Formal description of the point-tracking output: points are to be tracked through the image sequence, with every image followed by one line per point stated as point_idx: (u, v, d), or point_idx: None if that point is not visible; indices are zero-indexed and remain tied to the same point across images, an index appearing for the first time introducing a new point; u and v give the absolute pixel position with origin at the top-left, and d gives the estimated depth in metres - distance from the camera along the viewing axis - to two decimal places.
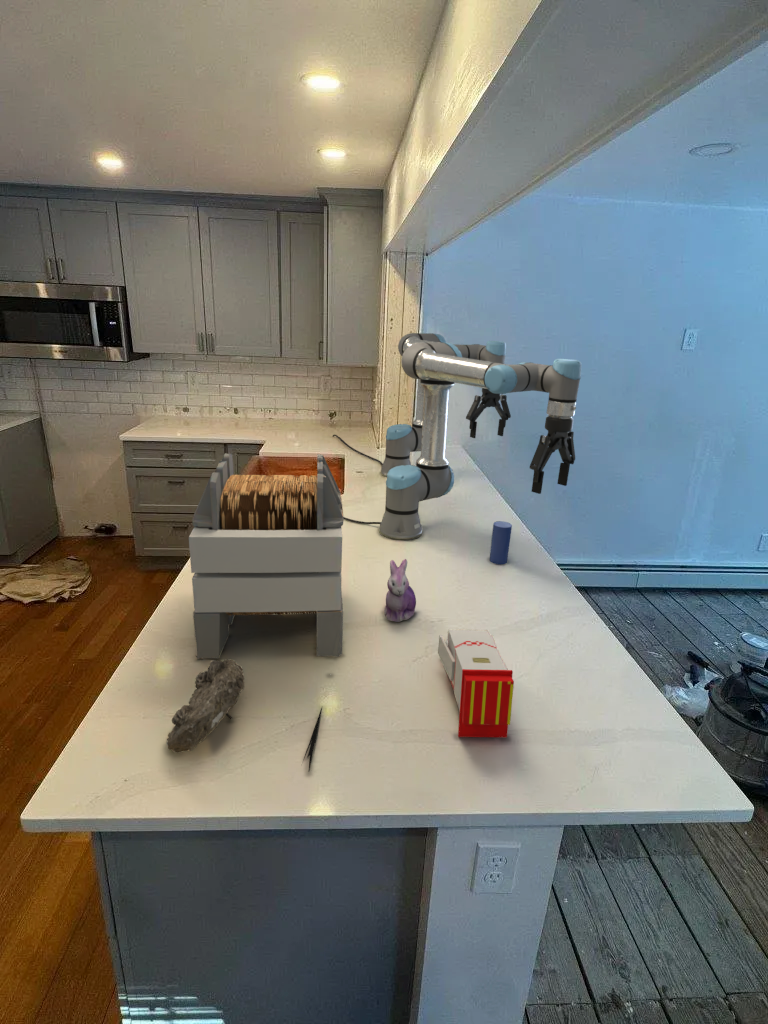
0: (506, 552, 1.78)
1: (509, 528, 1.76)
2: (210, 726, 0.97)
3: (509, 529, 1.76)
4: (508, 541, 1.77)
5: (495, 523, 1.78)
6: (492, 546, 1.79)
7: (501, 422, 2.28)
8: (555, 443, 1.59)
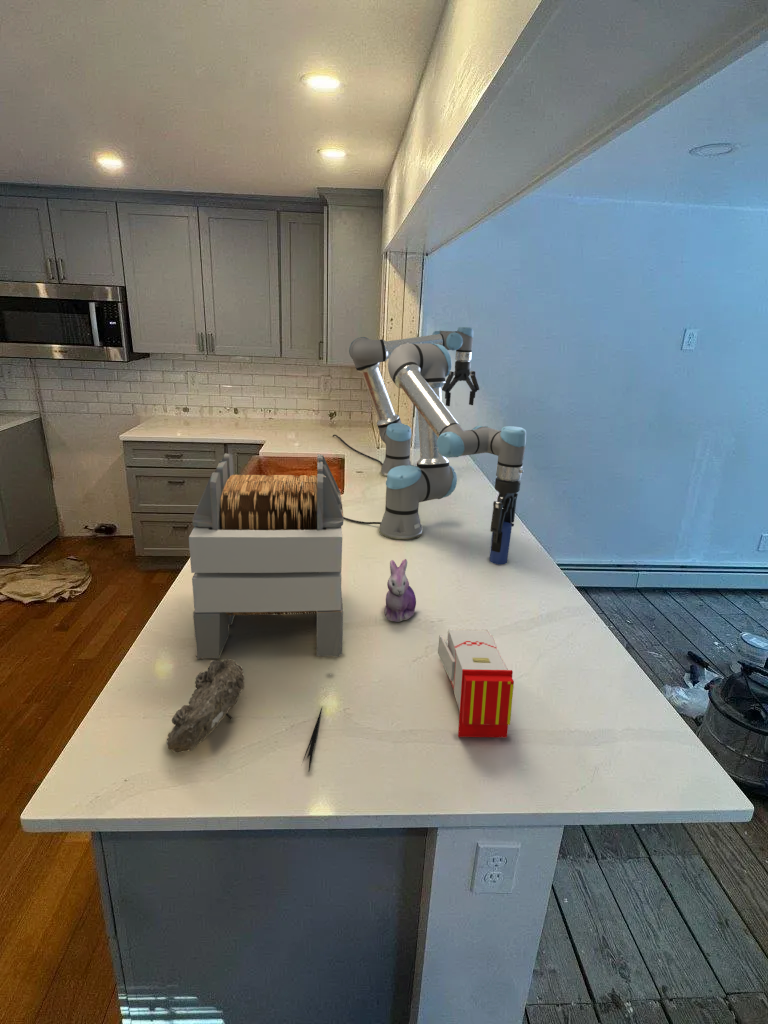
0: (506, 552, 1.78)
1: (509, 528, 1.76)
2: (210, 726, 0.97)
3: (509, 529, 1.76)
4: (508, 541, 1.77)
5: None
6: None
7: (471, 393, 2.80)
8: (506, 504, 1.73)
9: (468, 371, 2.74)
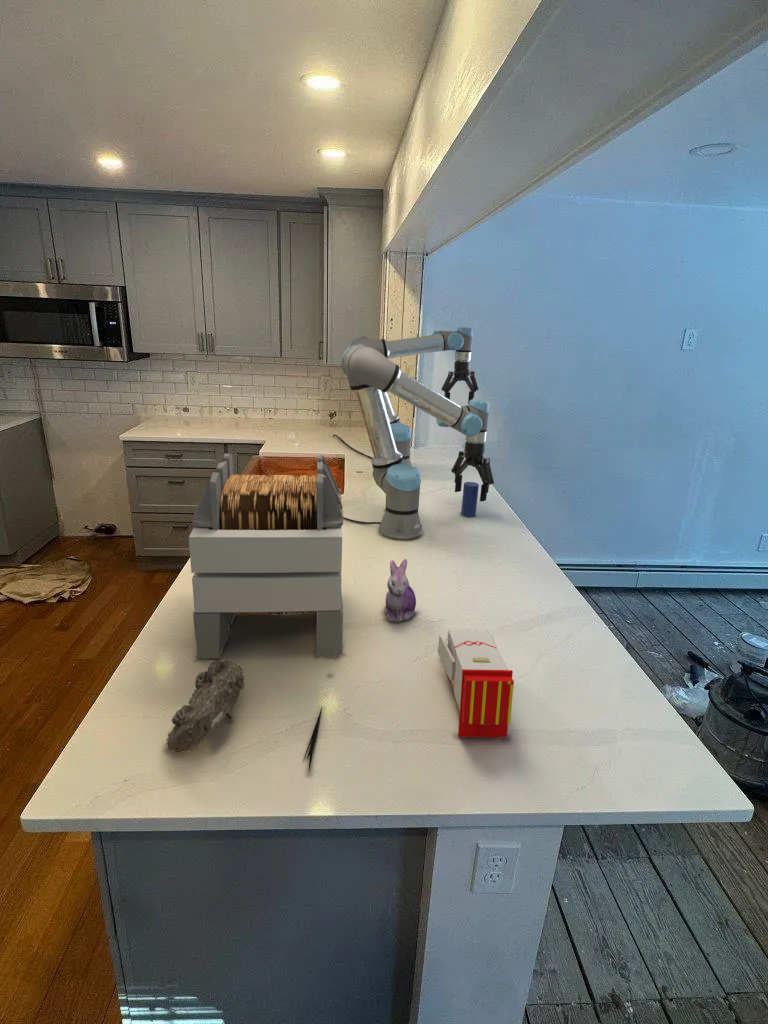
0: None
1: None
2: (210, 726, 0.97)
3: None
4: None
5: (469, 485, 2.16)
6: (471, 504, 2.17)
7: (470, 393, 2.81)
8: None
9: (467, 371, 2.75)
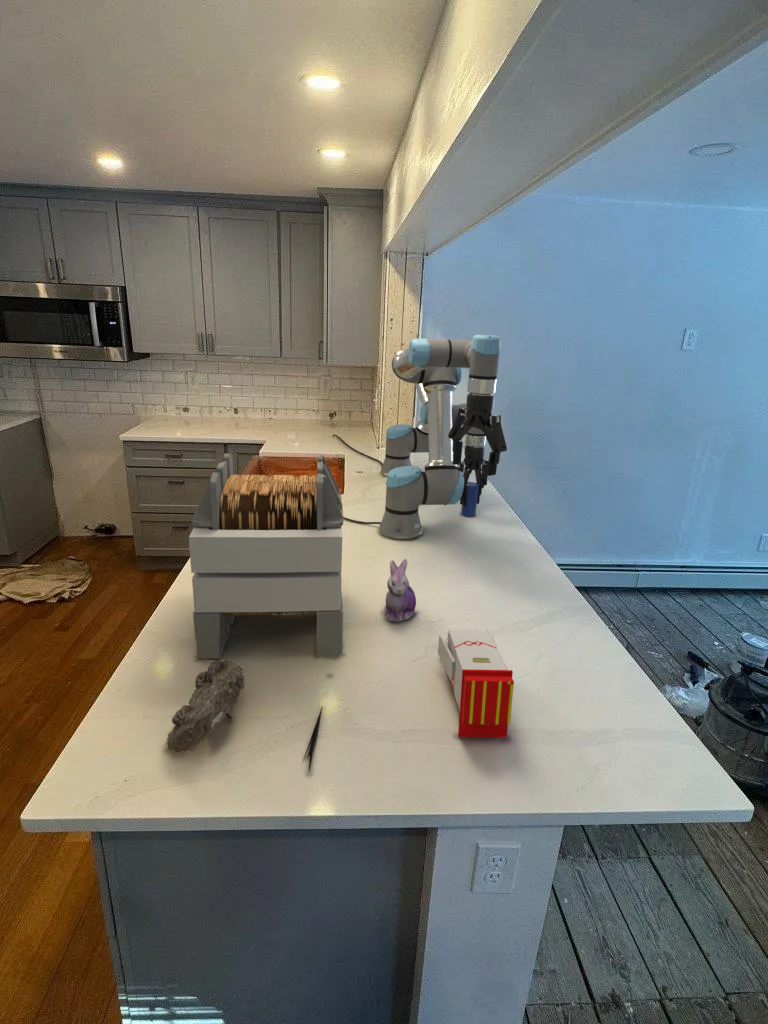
0: None
1: None
2: (210, 726, 0.97)
3: None
4: None
5: (469, 485, 2.16)
6: (471, 504, 2.17)
7: None
8: None
9: (481, 458, 2.14)
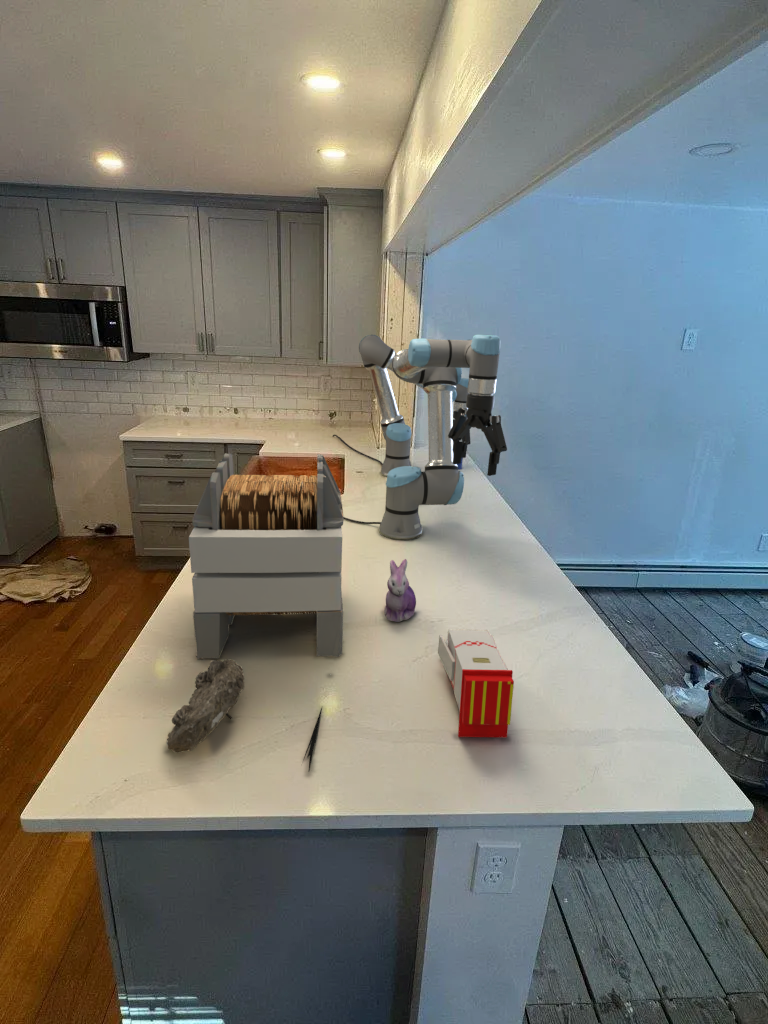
0: None
1: None
2: (210, 726, 0.97)
3: None
4: None
5: None
6: None
7: None
8: None
9: None
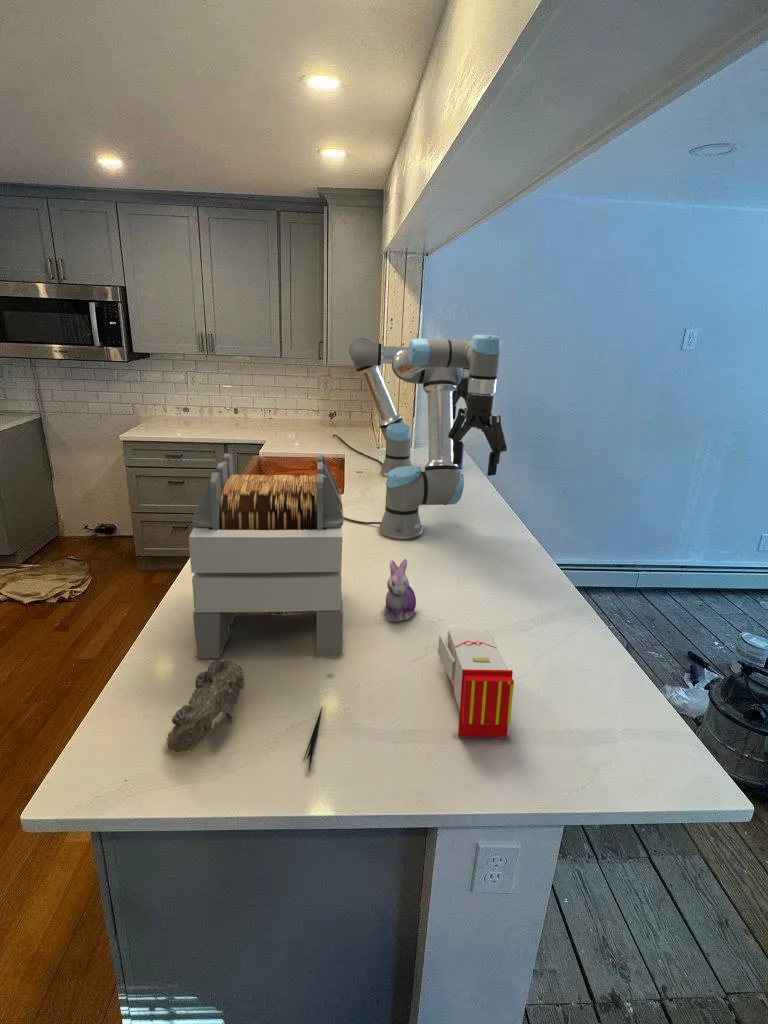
0: None
1: None
2: (210, 726, 0.97)
3: None
4: None
5: None
6: None
7: (454, 408, 2.83)
8: None
9: None
